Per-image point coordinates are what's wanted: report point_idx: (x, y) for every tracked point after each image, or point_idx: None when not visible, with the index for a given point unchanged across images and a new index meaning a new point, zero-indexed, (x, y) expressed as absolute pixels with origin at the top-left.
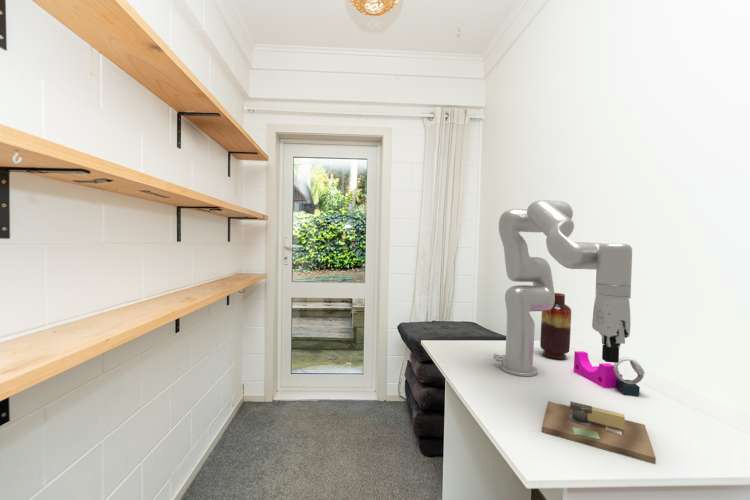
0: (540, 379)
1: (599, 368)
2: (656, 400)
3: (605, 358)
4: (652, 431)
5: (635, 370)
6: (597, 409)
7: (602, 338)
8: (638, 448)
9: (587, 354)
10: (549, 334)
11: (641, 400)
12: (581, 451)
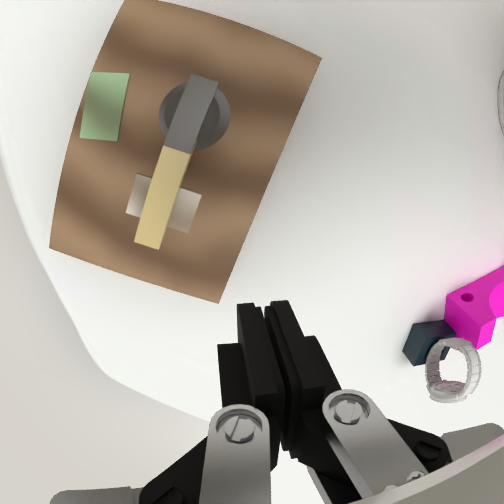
0: (488, 141)
1: (487, 310)
2: (385, 375)
3: (241, 317)
4: (229, 313)
5: (448, 382)
6: (171, 167)
7: (377, 435)
8: (73, 226)
9: None
10: None
11: (387, 350)
12: (69, 87)
